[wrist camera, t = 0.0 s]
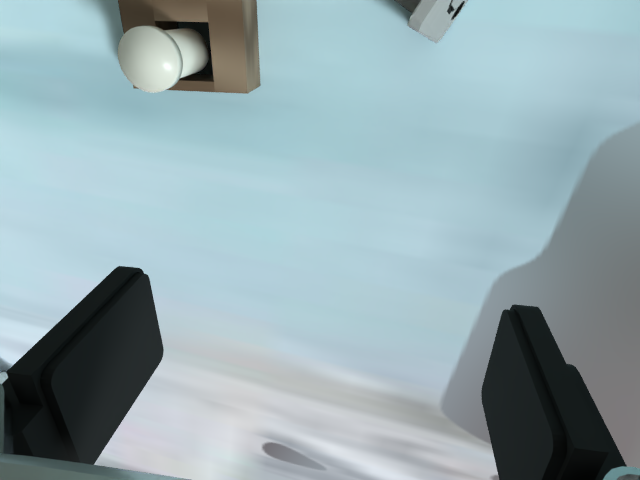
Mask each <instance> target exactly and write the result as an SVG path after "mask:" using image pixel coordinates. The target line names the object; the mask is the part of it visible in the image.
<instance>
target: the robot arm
mask: <svg viewBox="0 0 640 480" xmlns="http://www.w3.org/2000/svg"><path fill="white" fill-rule="evenodd" d="M162 357H163V344H162V339H161V334H160V329H159V325H158V320H157V315H156V310H155V305H154V300H153V295H152V290H151V285H150V280H149V277H148V275H147V274H144V273H143V271H142V269H140V268H133V267H123V266H119V267H117V268H115V269H114V270H113V271H112V272H111V273H110V274H109V275H108V276H107V277H106V278H105V279H104V280H103V281H102V282H101V283H100V284H99V285H97V286H96V287H95V288H94V289H93V290H92V291H91V292H90V293H89V294H88V295H87V296H86V297H85V298H84V299H83V300H82V301H81V302H80V303H78V304H77V305H76V306H75V307H74V308H73V309H72V310H71V311H70V312H69V313H68V314H67V315H66V316H65V317H64V318H63V319H62V320H61V321H60V322H58V323H57V324H56V325H55V326H54V327H53V328H52V329H51V330H50V331H49V332H48V333H47V334H46V335H45V336H44V337H43V338H42V339H41V340H39V341H38V342H37V343H36V344H35V345H34V346H33V347H32V348H31V349H30V350H29V351H28V352H27V353H26V354H25V355H24V356H23V357H22V358H21V359H19V360H18V361H17V362H16V363H15V364H14V365H13V366H12V367H11V368H10V369H9V370H8V371H7V372H6V373H7V376H8V378H7V379H6V380H5V381H4V382H3V383H2V384H0V480H190V479H184V478H177V477H171V476H164V475H157V474H151V473H144V472H138V471H131V470H124V469H118V468H111V467H105V466H98V465H94V463H95V462H96V460H97V459H98V457H99V455H100V454H101V452H102V451H103V449H104V448H105V446H106V445H107V443H108V442H109V440H110V439H111V437H112V436H113V434H114V432H115V431H116V429H117V428H118V426H119V425H120V423H121V422H122V420H123V419H124V417H125V416H126V414H127V413H128V411H129V409H130V408H131V406H132V405H133V403H134V402H135V400H136V399H137V397H138V396H139V394H140V393H141V391H142V390H143V388H144V386H145V385H146V383H147V382H148V380H149V379H150V377H151V376H152V374H153V373H154V371H155V370H156V368H157V367H158V365H159V363H160V362H161V360H162ZM482 404H483V408H484V412H485V417H486V421H487V426H488V430H489V434H490V439H491V444H492V448H493V453H494V457H495V462H496V466H497V471H498V475H499V480H640V469H639V468H635V467H627V466H626V464H625V462H624V460H623V458H622V456H621V454H620V452H619V450H618V448H617V446H616V444H615V442H614V440H613V438H612V436H611V434H610V432H609V430H608V429H607V427H606V425H605V423H604V421H603V419H602V417H601V415H600V413H599V411H598V409H597V407H596V405H595V403H594V401H593V399H592V397H591V395H590V393H589V391H588V389H587V387H586V385H585V383H584V381H583V379H582V377H581V375H580V373H579V372H578V370H577V369H576V367H574V366H573V365H570V364H566V362H565V360H564V358H563V356H562V354H561V352H560V350H559V348H558V346H557V344H556V341H555V339H554V337H553V335H552V333H551V331H550V329H549V327H548V325H547V323H546V321H545V319H544V317H543V314H542V312H541V310H540V309H539V308H538V307H533V306H523V305H512V307H511V308H510V310H504V311H503V312H502V315H501V319H500V322H499V326H498V330H497V334H496V337H495V341H494V345H493V349H492V352H491V356H490V360H489V363H488V368H487V371H486V375H485V378H484V382H483V386H482Z"/></svg>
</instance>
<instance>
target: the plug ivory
mask: <svg viewBox="0 0 640 480" xmlns="http://www.w3.org/2000/svg"><path fill="white" fill-rule="evenodd" d="M208 59H209V49H208V46H207V43H206V41H205V39H204V38H203V37H202V36H201V35H200V34H199V33H198V32H197V31H195V30H193V29H189V28H182V29H173V30H162V29H160V28H158V27H155V26H138V27H134V28H131V29H130V30H128V31H127V32H126V33H125V34H124V35H123V36H122V38H121V40H120V42H119V46H118V60H119V64H120V67H121V69H122V71H123V73H124V75H125V76H126V77H127V79H128V80H129V81H130V82H131V83H132V84H133V85H134V86H136V87H137V88H139V89H141V90H143V91H146V92H151V93H156V92H161V91H163V90H166V89H169V88H171V87H172V86H174V85H175V84H176V83H177V82H178V80H179V79H180V78H182V77H185V76H188V75H191V74H194V73H197V72H199V71H201V70H202V69H203V68H204V67H205V66H206V64H207V62H208Z"/></svg>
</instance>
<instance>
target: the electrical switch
mask: <svg viewBox="0 0 640 480" xmlns="http://www.w3.org/2000/svg"><path fill="white" fill-rule="evenodd" d="M395 1H396V2H397V3H399V4H400V5H401V6H403V7H404V8H406V9H407V10H408V11H410V12H411V13H412V15H411V17H410V19H409V22H408V25H407V26H409V27H410V28H412V29H413V30H415V31H417V32H419V33H420V34H422V35H424V36H425V37H427V38H428V39H430V40H432V41H433V42H435V43H438V42H439V41H440V40H441V39H442V37H443V36H444V34H445V33H446V31H447V30H448V29H449V27H450V26H451V24H452V23H453V21H454V20H455V18H456V17H457V16H458V14H459V13H460V11H461V10H462V8H463V7H464V5H465V4H466V3H467V1H468V0H395Z"/></svg>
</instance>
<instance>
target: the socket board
mask: <svg viewBox="0 0 640 480" xmlns="http://www.w3.org/2000/svg"><path fill="white" fill-rule="evenodd" d="M118 3H119V9H120V14H121V20H122V26H123V31H124V34H125V33H126V32H127V31H128V30H130V29H131V28H134V27H138V26H155V27H158V28H160V29H162V30H173V29H178V26H177V21H181V22H208V24H209V35H210V46H211V56H212V67H213V74H191V75H188V76H185V77H182V78H180V79H179V80H178V82H177V83H176V84H175V85H174V86H172V87H171V88H169V89H166V90H182V91H204V92H226V93H249V92H251V91H252V90H254V89H256V88H257V87H259V86H260V68H259V46H258V24H257V2H256V0H118ZM133 87H134V88H137V87H136V86H134V85H133ZM138 89H139V88H138Z"/></svg>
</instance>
